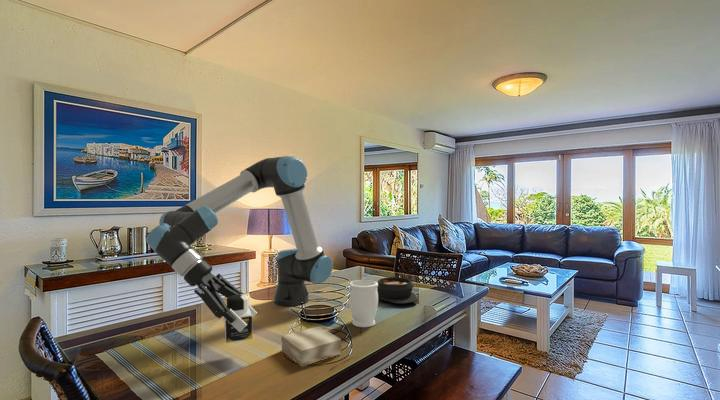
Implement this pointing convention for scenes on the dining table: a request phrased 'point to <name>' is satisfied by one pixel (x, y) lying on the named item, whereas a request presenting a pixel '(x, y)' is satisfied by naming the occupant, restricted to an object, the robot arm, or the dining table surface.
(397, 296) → the casserole
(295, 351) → the birch block
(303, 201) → the robot arm
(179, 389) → the dining table surface
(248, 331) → the medicine bottle
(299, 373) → the dining table surface
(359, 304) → the jar
